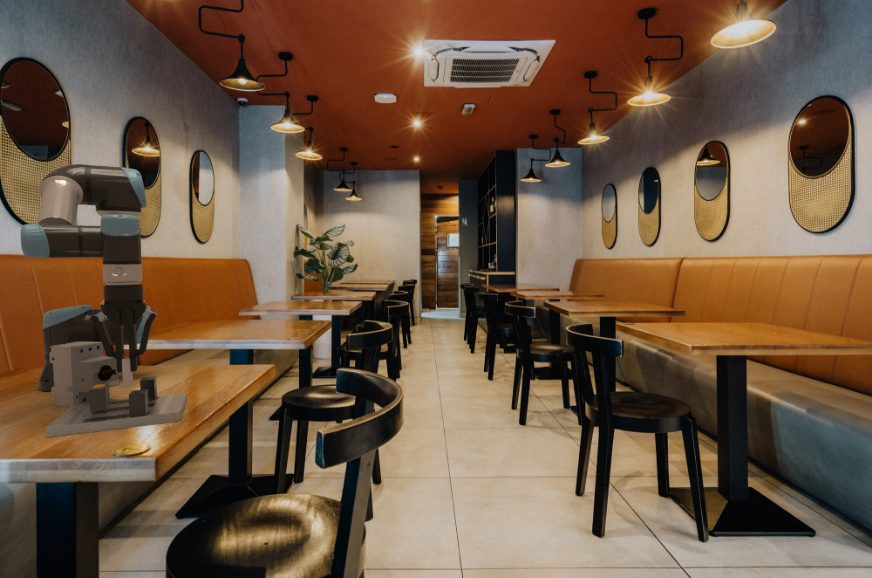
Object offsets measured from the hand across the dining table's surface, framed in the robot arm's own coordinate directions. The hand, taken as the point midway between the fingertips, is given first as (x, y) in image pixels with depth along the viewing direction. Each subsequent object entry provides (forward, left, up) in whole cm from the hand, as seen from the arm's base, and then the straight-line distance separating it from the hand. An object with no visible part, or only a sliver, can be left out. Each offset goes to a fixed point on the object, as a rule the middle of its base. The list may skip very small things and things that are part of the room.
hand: (128, 385), depth 111 cm
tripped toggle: (+1, -5, -5) cm, 7 cm away
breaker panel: (+1, -1, -7) cm, 7 cm away
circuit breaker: (-18, -12, -7) cm, 23 cm away
